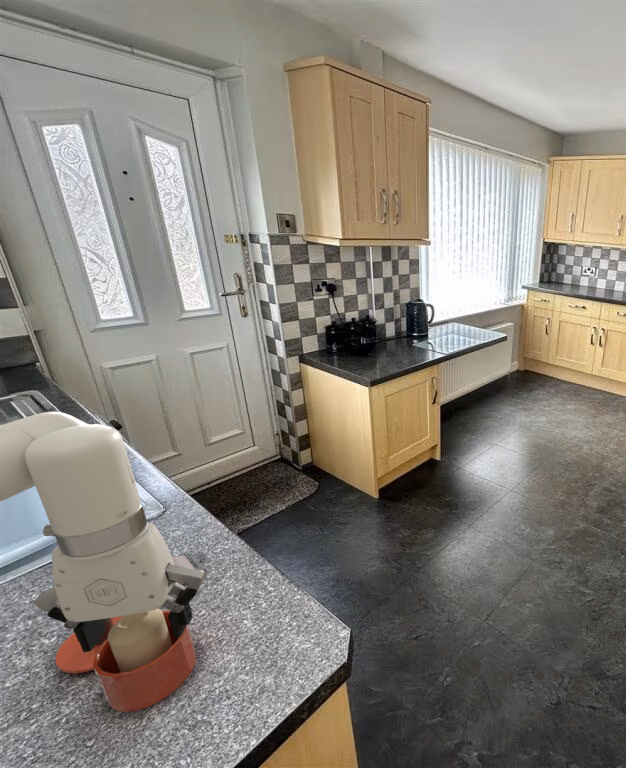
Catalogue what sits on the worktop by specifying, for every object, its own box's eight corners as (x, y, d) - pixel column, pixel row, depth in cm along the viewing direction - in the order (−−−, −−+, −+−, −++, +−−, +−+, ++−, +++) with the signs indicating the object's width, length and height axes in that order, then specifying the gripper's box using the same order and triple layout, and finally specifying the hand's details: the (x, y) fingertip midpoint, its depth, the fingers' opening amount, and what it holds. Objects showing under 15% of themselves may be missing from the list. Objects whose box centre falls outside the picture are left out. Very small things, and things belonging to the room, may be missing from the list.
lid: (37, 684, 56) (23, 653, 54) (87, 620, 65) (76, 592, 63) (127, 667, 58) (117, 638, 57) (163, 608, 68) (155, 581, 66)
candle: (184, 665, 59) (168, 612, 55) (135, 699, 54) (114, 643, 51) (166, 645, 61) (150, 592, 58) (118, 676, 57) (97, 621, 53)
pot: (90, 720, 52) (74, 684, 50) (132, 650, 61) (120, 617, 59) (178, 702, 55) (166, 667, 52) (207, 638, 63) (198, 605, 61)
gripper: (-20, 562, 44) (35, 676, 49) (174, 539, 48) (204, 647, 54) (35, 516, 50) (78, 622, 56) (201, 500, 55) (225, 600, 61)
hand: (140, 634), depth 55 cm, fingers open, 9 cm apart
